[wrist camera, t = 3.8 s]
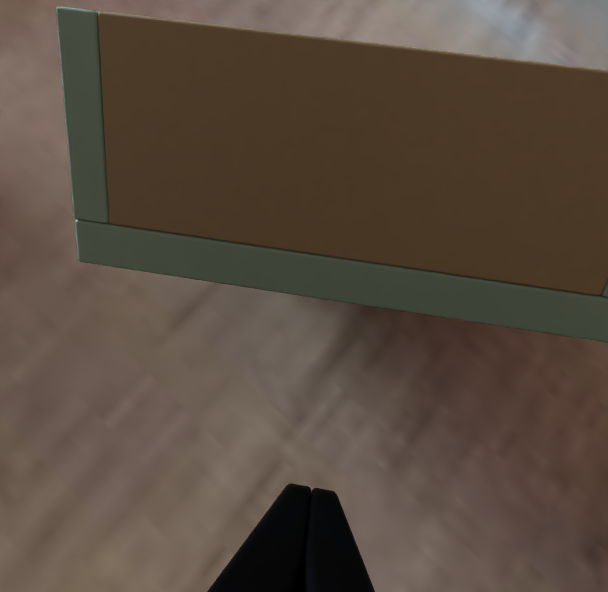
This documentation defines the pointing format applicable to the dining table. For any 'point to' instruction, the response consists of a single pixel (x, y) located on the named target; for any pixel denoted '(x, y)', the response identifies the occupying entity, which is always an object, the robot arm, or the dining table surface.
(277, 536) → the robot arm
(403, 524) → the dining table surface
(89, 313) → the dining table surface
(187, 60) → the green rectangular box
